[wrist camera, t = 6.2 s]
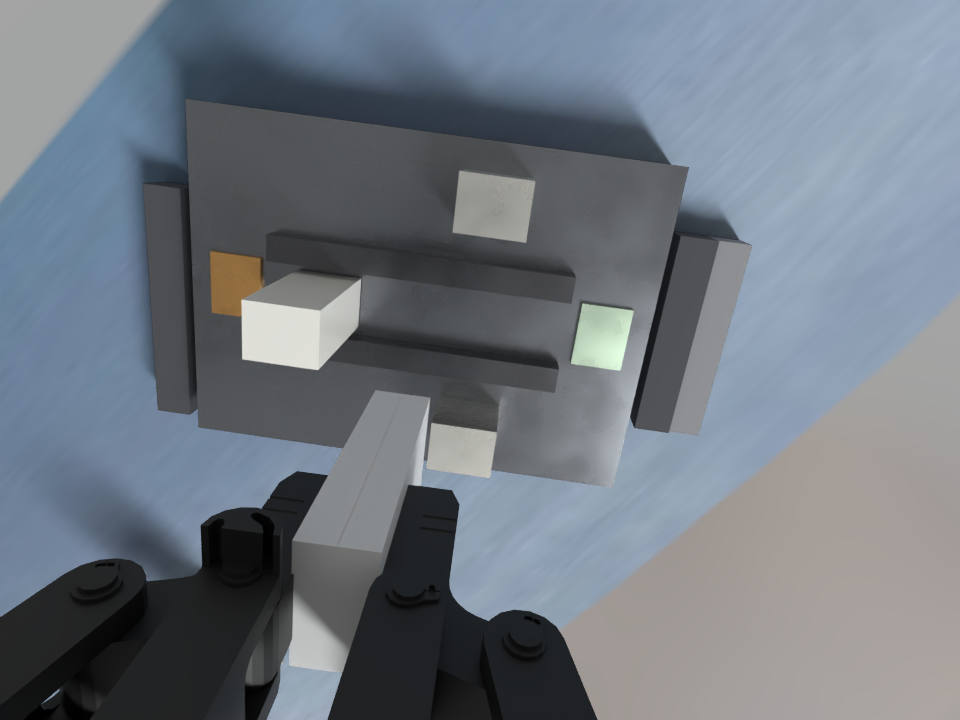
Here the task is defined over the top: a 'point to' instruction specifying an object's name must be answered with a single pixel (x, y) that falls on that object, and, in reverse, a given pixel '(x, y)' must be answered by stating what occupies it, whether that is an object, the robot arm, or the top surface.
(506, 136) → the top surface
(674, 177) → the panel
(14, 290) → the top surface
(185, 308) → the dark gray bar
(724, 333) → the narrow gray bar
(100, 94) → the top surface
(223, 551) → the robot arm
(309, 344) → the lever
